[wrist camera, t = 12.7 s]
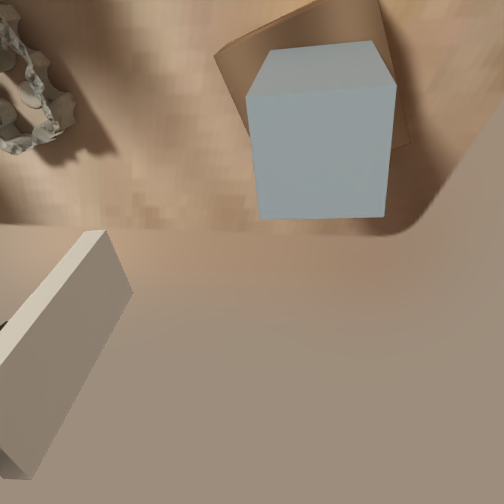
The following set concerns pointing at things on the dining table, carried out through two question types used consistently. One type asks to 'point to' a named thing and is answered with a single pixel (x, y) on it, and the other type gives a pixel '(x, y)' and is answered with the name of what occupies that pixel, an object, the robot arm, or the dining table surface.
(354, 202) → the slate block
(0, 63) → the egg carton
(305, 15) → the walnut block
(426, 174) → the dining table surface
